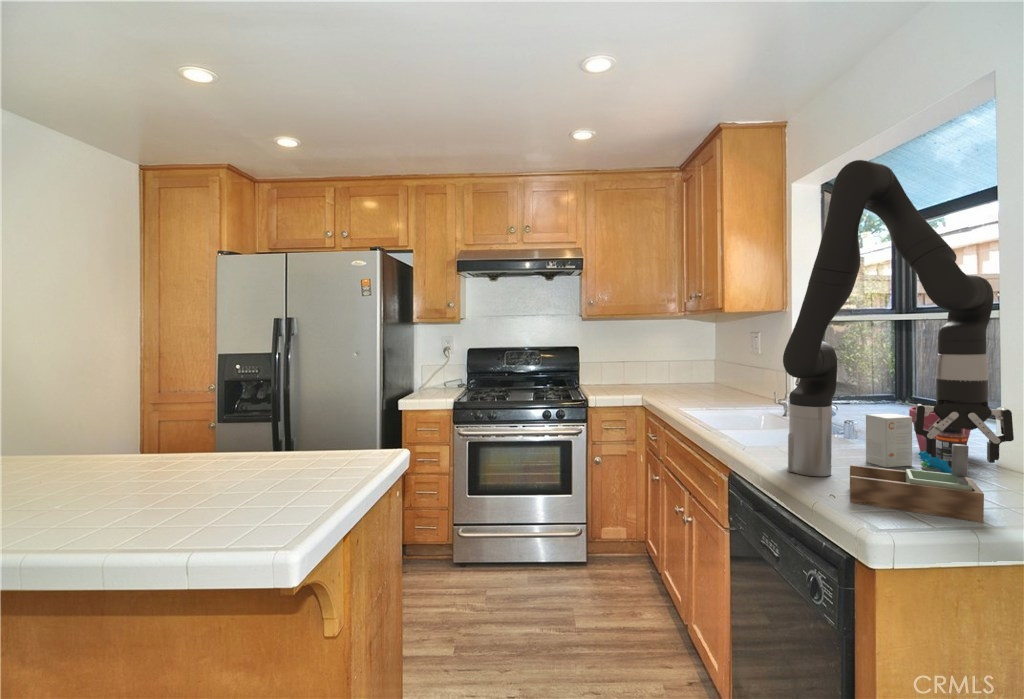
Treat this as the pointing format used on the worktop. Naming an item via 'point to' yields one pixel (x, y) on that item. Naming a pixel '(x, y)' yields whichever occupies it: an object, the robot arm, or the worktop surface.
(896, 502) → the bay
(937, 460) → the gear
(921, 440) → the plant pot
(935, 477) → the crate
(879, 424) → the small box
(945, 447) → the supplement bottle
